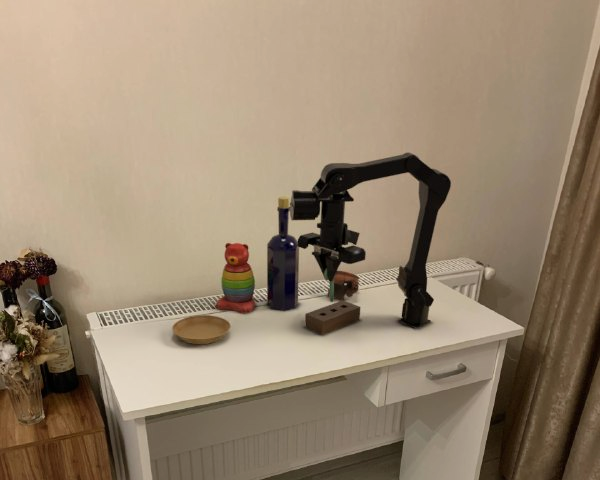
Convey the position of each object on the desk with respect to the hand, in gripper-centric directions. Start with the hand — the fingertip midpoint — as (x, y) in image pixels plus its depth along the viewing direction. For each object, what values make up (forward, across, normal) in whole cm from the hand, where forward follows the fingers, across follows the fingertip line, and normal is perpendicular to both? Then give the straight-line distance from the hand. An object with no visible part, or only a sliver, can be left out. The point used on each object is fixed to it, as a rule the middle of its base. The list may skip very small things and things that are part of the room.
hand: (328, 280), depth 157 cm
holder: (+13, 0, -3) cm, 13 cm away
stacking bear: (+13, +27, +8) cm, 31 cm away
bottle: (+13, +19, -2) cm, 23 cm away
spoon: (+6, 0, -2) cm, 7 cm away
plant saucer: (+13, +17, +28) cm, 36 cm away
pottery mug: (+13, +12, -20) cm, 27 cm away
